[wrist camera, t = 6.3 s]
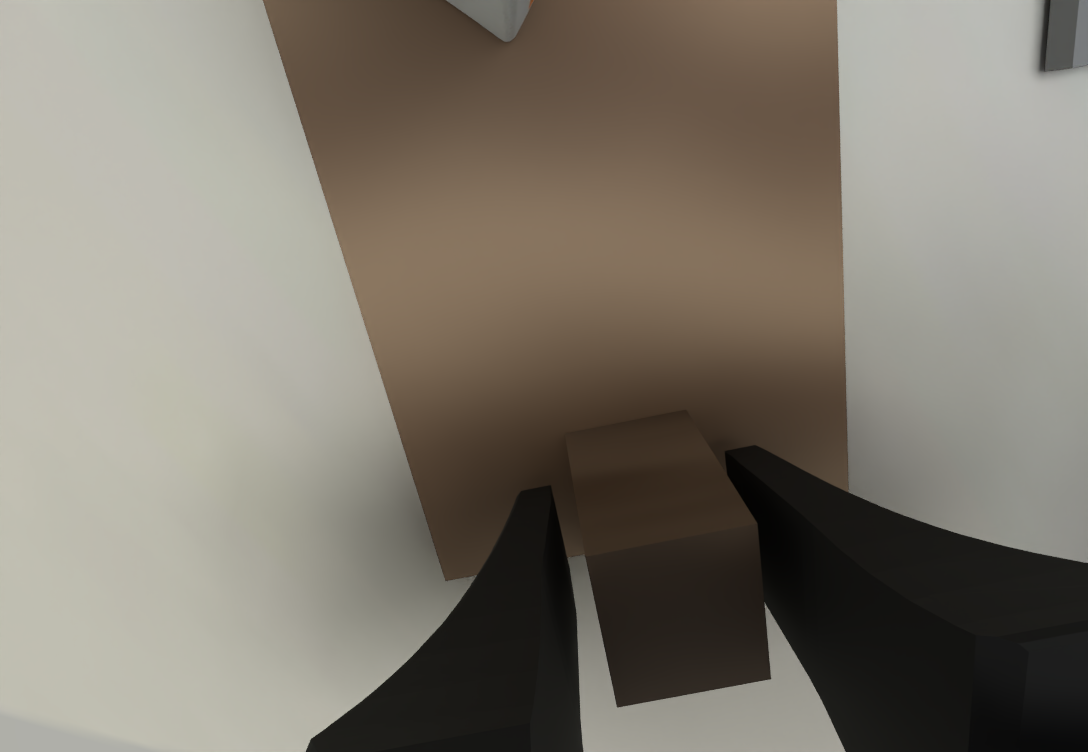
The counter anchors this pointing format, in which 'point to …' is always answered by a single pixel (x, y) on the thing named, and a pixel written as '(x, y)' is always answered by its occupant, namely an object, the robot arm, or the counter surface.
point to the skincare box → (496, 15)
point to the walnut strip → (595, 283)
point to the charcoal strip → (1067, 35)
